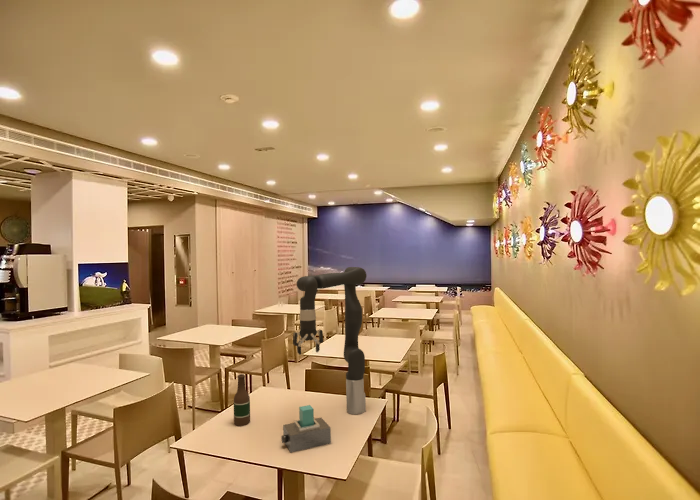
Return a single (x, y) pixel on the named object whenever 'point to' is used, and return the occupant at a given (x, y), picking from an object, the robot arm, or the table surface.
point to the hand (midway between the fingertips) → (308, 353)
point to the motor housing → (306, 435)
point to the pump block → (306, 416)
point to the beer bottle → (241, 403)
